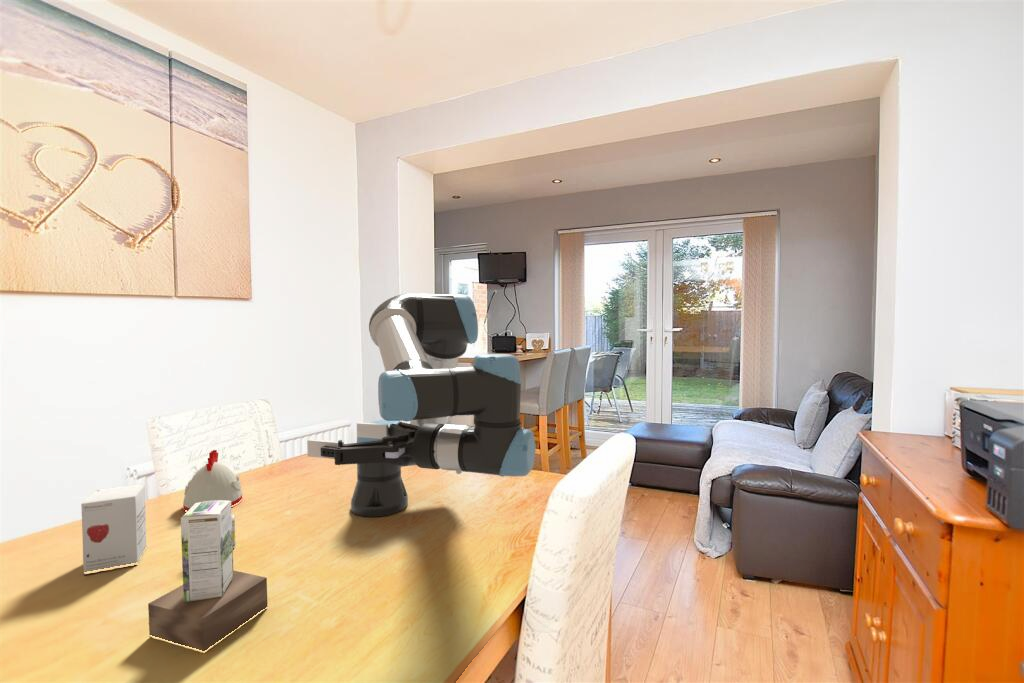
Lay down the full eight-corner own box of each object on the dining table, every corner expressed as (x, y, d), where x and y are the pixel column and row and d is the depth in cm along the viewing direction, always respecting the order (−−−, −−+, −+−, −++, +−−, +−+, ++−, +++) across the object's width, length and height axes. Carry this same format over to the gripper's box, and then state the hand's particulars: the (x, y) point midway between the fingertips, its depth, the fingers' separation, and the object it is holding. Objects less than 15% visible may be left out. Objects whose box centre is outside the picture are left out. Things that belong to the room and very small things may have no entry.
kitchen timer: (247, 493, 140) (245, 443, 140) (235, 510, 127) (234, 456, 127) (193, 498, 136) (191, 447, 135) (175, 517, 123) (173, 461, 122)
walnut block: (149, 639, 76) (148, 603, 76) (217, 598, 87) (216, 566, 87) (204, 656, 72) (203, 618, 72) (267, 610, 84) (266, 577, 83)
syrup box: (197, 582, 82) (193, 501, 80) (235, 577, 83) (231, 498, 82) (183, 603, 76) (178, 516, 75) (224, 597, 77) (219, 512, 76)
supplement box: (81, 577, 94) (78, 503, 94) (96, 557, 102) (93, 489, 102) (138, 566, 98) (135, 495, 98) (148, 547, 106) (145, 482, 106)
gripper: (405, 495, 67) (284, 481, 73) (470, 449, 91) (374, 441, 97) (405, 443, 67) (282, 433, 73) (470, 410, 91) (374, 405, 97)
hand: (335, 438), depth 85 cm, fingers open, 13 cm apart
